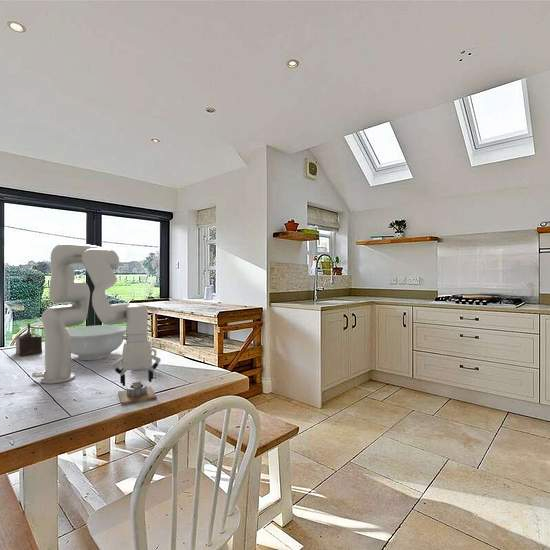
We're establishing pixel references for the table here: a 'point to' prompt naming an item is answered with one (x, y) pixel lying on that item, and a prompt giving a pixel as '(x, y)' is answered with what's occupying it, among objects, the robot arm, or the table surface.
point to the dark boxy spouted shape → (29, 343)
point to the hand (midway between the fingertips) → (136, 382)
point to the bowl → (95, 341)
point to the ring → (136, 390)
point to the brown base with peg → (128, 400)
